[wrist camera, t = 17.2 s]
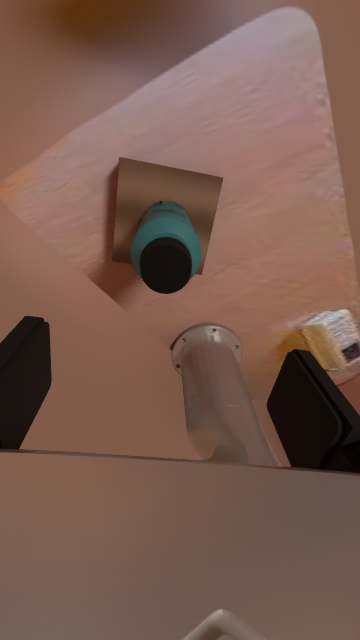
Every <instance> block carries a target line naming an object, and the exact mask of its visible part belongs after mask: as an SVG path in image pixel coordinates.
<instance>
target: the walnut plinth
mask: <svg viewBox="0 0 360 640" xmlns="http://www.w3.org/2000/svg"><path fill="white" fill-rule="evenodd" d="M222 181H223V178H221V177H217V176H212V175H207V174H202V173H197V172H192V171H187V170H182V169H177V168H172V167H167V166H162V165H157V164H152V163H147V162H142V161H136V160H131V159H126V158H121V157H119V170H118V185H117V199H116V214H115V228H114V243H113V257H112V261H115V262H121V263H128V264H132V260H131V254H130V250H131V244H132V240H133V238H134V236H135V234H136V231H137V230H138V228H139V225H140V223H141V222H140V220H142V219H143V216H144V214H145V213H146V212H145V211H146V210H148V208H149V206H150V207H151V206H152V205H153V204H154V203H157V202H159V201H172V200H173V201H172V202H174V201H175V202H176V203H177V202H178V203H177V204H179V205H180V206H181V207H182V208H183V209H184V210H185V209H186V210H185V211H186V213H187V212H188V213H187V214H188V216H189V219H190V221H192V222H191V223H192V225H193V224H194V225H193V228H194V230H195V233H196V234H197V235H198V238H199V241H200V244H201V249H202V257H201V262H200V265H199V267H198V269H197V271H196V273H195V274H199V275H202V272H203V267H204V263H205V258H206V254H207V249H208V245H209V240H210V236H211V231H212V226H213V222H214V217H215V213H216V208H217V204H218V199H219V195H220V190H221V186H222ZM164 199H165V200H164ZM144 212H145V213H144ZM139 222H140V223H139Z"/></svg>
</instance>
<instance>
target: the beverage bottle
mask: <svg viewBox="0 0 360 640" xmlns="http://www.w3.org/2000/svg"><path fill="white" fill-rule="evenodd" d="M164 200H165V199H164ZM172 201H173V200H172ZM172 201H159V202H157V203H154V204H153V205H152V206H151V207H150V206H149V208H148V210H146V211H145V212H146V213H145V212H144V213H145V214H144V216H143V219H142V220H140V222H141V223H140V222H139V223H140V225H139V228H138V230H137V231H136V234H135V236H134V238H133V240H132V244H131V250H130V254H131V260H132V264H133V266H134V268H135V270H136V272H137V273H138V275H139V276H140V277H141V278H142V279H143V281H144V282H145V284H146V285H147V286H148V287H149V288H150V289H152V290H153V291H156V292H158V293H163V294H169V293H174V292H177V291H179V290H180V289H182V288H183V287H184V286H185V285H186V284H187V283H188V281H189V279H190V278H191V277H192V276H193V275H194V274H195V273H196V271H197V269H198V267H199V265H200V262H201V257H202V249H201V244H200V241H199V238H198V235H197V234H196V233H195V230H194V228H193V225H194V224H193V225H192V223H191V222H192V221H190V219H189V216H188V214H187V213H188V212H187V213H186V211H185V210H186V209H185V210H184V209H183V208H182V207H181V206H180V205H179V204H177V203H178V202H177V203H176V202H175V201H174V202H172Z"/></svg>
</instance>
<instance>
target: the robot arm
mask: <svg viewBox="0 0 360 640" xmlns="http://www.w3.org/2000/svg"><path fill="white" fill-rule="evenodd" d="M213 328H214V329H213ZM241 356H242V349H241V345H240V342H239V340H238V338H237V337H236V335H235V334H234V333H233V332H232V331H231V330H229V329H227V328H226V327H223V326H221V325H217V324H201V325H197V326H194V327H191V328H189V329H188V330H186V331H185V332H183V333H182V334H181V335H180V336H179V337H178V338H177V340H176V342H175V343H174V346H173V349H172V362H173V366H174V368H175V369H176V371H177V372H178V373H179V374H180V375H181V376H182V381H183V393H184V405H185V415H186V427H187V434H188V437H189V440H190V442H191V444H192V446H193V448H194V449H195V451H196V452H197V453H198V454H199V455H200V456H201V457H202V458H203V459H204V460H202V461H201V460H186V459H172V458H156V457H143V456H127V455H112V454H96V453H81V452H63V451H44V450H22V449H19V448H20V446H21V444H22V442H23V440H24V438H25V436H26V434H27V432H28V430H29V428H30V426H31V424H32V422H33V420H34V418H35V416H36V414H37V412H38V410H39V409H40V407H41V405H42V403H43V401H44V399H45V397H46V395H47V393H48V391H49V389H50V386H51V357H50V331H49V323H48V322H44V319H43V318H40V317H33V316H25V317H24V318H23V319H22V320H21V321H20V322H19V323H18V324H17V326H16V327H15V328H14V329H13V330H12V331H11V332H10V333H9V334H8V335H7V336H6V338H5V339H4V340H3V341H2V342H1V343H0V640H360V416H359V414H358V413H357V412H356V410H355V409H354V408H353V407H352V405H351V404H350V403H349V401H348V400H347V399H346V398H345V397H344V395H343V394H342V392H341V391H340V390H339V389H338V387H337V386H336V385H335V383H334V382H333V381H332V380H331V378H330V377H329V376H328V374H327V373H326V372H325V370H324V369H323V368H322V367H321V365H320V364H319V363H318V361H317V360H316V359H315V358H314V356H313V355H312V354H311V352H309V351H306V350H298V349H294V350H292V351H291V352H289V353H288V354H287V355H286V358H285V360H284V363H283V365H282V367H281V370H280V372H279V375H278V377H277V379H276V382H275V384H274V386H273V389H272V391H271V394H270V396H269V398H268V401H267V409H268V412H269V414H270V417H271V419H272V422H273V424H274V426H275V429H276V431H277V433H278V436H279V438H280V440H281V443H282V445H283V448H284V450H285V453H286V454H287V457H288V460H289V462H290V464H291V467H282V466H281V464H280V463H279V461H278V459H277V457H276V456H275V454H274V452H273V450H272V448H271V446H270V444H269V442H268V440H267V438H266V436H265V434H264V431H263V429H262V426H261V424H260V421H259V419H258V416H257V413H256V411H255V408H254V405H253V403H252V400H251V397H250V394H249V392H248V389H247V386H246V384H245V381H244V378H243V376H242V373H241V370H240V368H239V363H240V361H241Z"/></svg>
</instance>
